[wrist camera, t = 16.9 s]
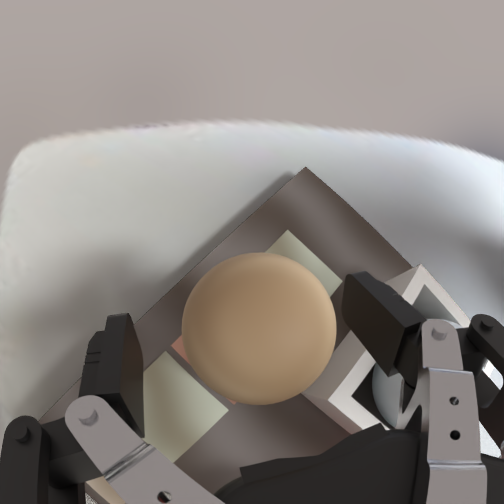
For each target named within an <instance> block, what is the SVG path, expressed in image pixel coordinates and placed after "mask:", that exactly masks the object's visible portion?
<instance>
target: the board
mask: <svg viewBox="0 0 504 504" xmlns="http://www.w3.org/2000/svg"><path fill="white" fill-rule="evenodd" d="M260 252H262V253H272V254H277V255H281V256H284V257H287V258H290V259H292V260H294V261H296V262H298V263H299V264H301V265H302V266H304V267H305V268H307V269H308V270H309V271H310V272H311V273H313V274H314V276H315V277H316V278H317V279H318V280H319V281H320V282H321V284H322V285H323V286H324V288H325V290H326V291H327V293H328V295H329V297H330V300H331V302H332V304H333V308H334V312H335V317H336V341H335V345H334V350H333V352H334V351H335V350H336V349H337V347H338V346H339V345H340V343H341V342H342V341H343V340H344V338H345V337H346V336H347V334H348V333H349V332H350V330H351V329H350V328H349V327H348V326H347V324H346V323H345V322H344V320H343V317H342V313H341V305H342V297H343V290H344V282H345V277H346V275H347V274H351V273H356V272H360V271H367V272H368V273H369V274H370V275H372V276H373V277H374V278H375V279H376V280H379V281H381V282H383V283H384V282H386V281H388V280H390V279H392V278H394V277H396V276H398V275H400V274H402V273H404V272H406V271H408V270H410V269H412V268H413V267H412V266H411V265H410V264H409V263H408V262H407V261H406V260H405V259H404V258H403V257H402V256H401V255H400V254H399V253H398V252H397V251H396V250H395V249H394V248H393V247H392V246H391V245H390V244H389V243H388V242H387V241H386V240H385V239H384V238H383V237H382V236H381V235H380V234H379V233H378V232H377V231H376V230H375V229H374V228H373V227H372V226H371V225H370V224H369V223H368V222H367V221H366V220H365V219H364V218H363V217H361V216H360V215H359V214H358V213H357V212H356V211H355V210H354V209H353V208H352V207H351V206H350V205H349V204H347V203H346V202H345V201H344V200H343V199H342V198H341V197H340V196H339V195H338V194H336V193H335V192H334V191H333V190H332V189H331V188H330V187H329V186H327V185H326V184H325V183H324V182H323V181H322V180H321V179H319V178H318V177H317V176H316V175H315V174H314V173H312V172H311V171H310V170H309V169H308V168H307V167H305V168H303V169H302V170H301V171H300V172H299V173H298V174H297V175H295V176H294V177H293V178H292V179H291V180H290V181H289V182H288V183H286V184H285V185H284V186H283V187H282V188H281V189H280V190H279V191H277V192H276V193H275V194H274V195H273V196H272V197H271V198H270V199H268V200H267V201H266V202H265V203H264V204H263V205H262V206H261V207H260V208H258V209H257V210H256V211H255V212H254V213H253V214H252V215H251V216H250V217H249V218H247V219H246V220H245V221H244V222H243V223H242V224H241V225H240V226H239V227H238V228H236V229H235V230H234V231H233V232H232V233H231V234H230V235H229V236H228V237H227V238H226V239H224V240H223V241H222V242H221V243H220V244H219V245H218V246H217V247H216V248H215V249H214V250H213V251H211V252H210V253H209V254H208V255H207V256H206V257H205V258H204V259H203V260H202V261H201V262H200V263H199V264H197V265H196V266H195V267H194V268H193V269H192V270H191V271H190V272H189V273H188V274H187V275H186V276H185V277H184V278H183V279H181V280H180V281H179V282H178V283H177V284H176V285H175V286H174V287H173V288H172V289H171V290H170V291H169V292H168V293H167V294H166V295H165V296H164V297H162V298H161V299H160V300H159V301H158V302H157V303H156V304H155V305H154V306H153V307H152V308H151V309H150V310H149V311H148V312H147V313H146V314H145V315H144V316H143V317H142V318H141V319H140V320H139V321H138V322H136V323H135V324H134V328H135V331H136V334H137V337H138V340H139V343H140V346H141V350H142V355H143V396H144V429H145V438H141V439H142V440H143V441H144V442H145V443H146V444H151V445H153V446H154V447H155V448H156V449H158V450H159V451H160V452H161V453H162V454H163V455H164V456H165V457H167V458H168V459H169V460H170V461H171V462H172V463H173V464H175V465H176V466H177V467H178V468H179V469H181V470H182V471H183V472H184V473H185V474H187V475H188V476H189V477H190V478H192V479H193V480H194V481H195V482H197V483H198V484H199V485H201V486H202V487H203V488H204V489H206V490H207V491H208V492H210V493H211V494H212V495H213V494H214V493H215V492H216V491H217V490H219V489H220V488H221V487H223V486H224V485H225V484H227V483H229V482H230V481H232V480H234V479H236V478H238V477H240V476H241V474H240V469H239V467H244V466H248V465H253V464H257V463H261V462H265V461H269V460H273V459H277V458H293V457H306V456H316V455H320V454H322V453H323V452H325V451H327V450H328V449H330V448H331V447H333V446H334V445H336V444H337V443H339V442H340V441H342V440H343V439H345V438H346V437H348V436H349V435H351V434H350V433H349V432H348V431H346V430H345V429H344V428H342V427H341V426H340V425H339V424H337V423H336V422H335V421H334V420H333V419H331V418H330V417H329V416H328V415H326V414H325V413H324V412H323V411H322V410H320V409H319V408H318V407H317V406H316V405H314V404H313V403H312V402H311V401H310V400H308V399H307V398H306V397H305V396H304V395H302V394H301V393H300V394H298V395H296V396H294V397H292V398H290V399H287V400H285V401H282V402H278V403H274V404H267V405H250V404H243V403H239V402H236V401H233V400H230V399H228V398H226V397H223V396H222V395H220V394H218V393H217V392H215V391H213V390H212V389H211V388H210V387H209V386H207V385H206V384H205V383H204V382H203V381H202V380H201V379H200V378H199V376H198V375H197V374H196V372H195V371H194V369H193V368H192V366H191V364H190V362H189V360H188V358H187V355H186V352H185V350H184V345H183V340H182V318H183V313H184V308H185V305H186V302H187V300H188V297H189V295H190V294H191V292H192V290H193V288H194V287H195V285H196V284H197V283H198V281H199V280H200V279H201V278H202V277H203V276H204V275H205V274H206V273H207V272H208V271H209V270H211V269H212V268H213V267H214V266H216V265H218V264H219V263H221V262H223V261H225V260H227V259H229V258H231V257H235V256H238V255H242V254H247V253H260ZM332 354H333V353H332ZM375 364H376V363H375ZM375 364H374V365H373V367H372V368H371V370H370V371H369V372H368V374H367V375H366V377H365V378H364V379H363V381H362V382H361V383H360V385H359V386H358V387H357V389H356V390H355V391H354V393H353V394H352V395H351V397H352V398H353V399H354V400H356V401H357V402H358V403H359V404H360V405H361V406H363V407H364V408H365V409H366V410H367V411H368V412H370V413H371V414H372V415H373V416H374V417H375V418H377V419H378V420H379V421H380V422H381V423H383V424H384V425H385V426H386V427H387V428H389V429H390V430H393V429H395V427H393V426H392V425H390V424H389V423H388V422H387V421H386V420H385V419H384V418H383V416H382V415H381V414H380V412H379V410H378V408H377V406H376V403H375V400H374V397H373V391H372V377H373V371H374V367H375ZM81 378H82V377H81ZM81 378H80V379H79V380H78V381H77V382H76V383H75V384H74V385H73V386H72V387H71V388H70V389H69V390H68V391H67V392H66V393H65V394H64V395H63V396H62V397H61V398H60V399H59V400H58V401H57V402H56V403H55V404H54V405H53V406H52V407H51V408H50V409H49V411H48V412H47V413H46V414H45V415H44V416H43V417H42V418H41V419H40V420H39V421H38V422H39V423H40V424H45V423H48V422H51V421H54V420H58V419H60V418H62V417H64V416H65V413H66V410H67V408H68V407H69V405H70V404H71V403H72V402H73V401H75V400H76V399H78V395H79V389H80V384H81ZM85 492H86V493H87V494H88V495H89V496H90V497H91V498H92V499H94V500H95V501H96V502H97V503H98V504H126V502H125V501H124V500H123V499H122V498H121V497H120V496H119V495H118V494H117V493H116V491H115V490H114V489H113V488H112V487H111V486H110V485H109V483H108V482H107V481H106V480H105V478H104V476H102V477H99V478H96V479H93V480H89V481H86V482H85Z"/></svg>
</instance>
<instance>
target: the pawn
mask: <svg viewBox="0 0 504 504" xmlns="http://www.w3.org/2000/svg"><path fill="white" fill-rule="evenodd" d="M182 340H183V345H184V350H185V352H186V355H187V358H188V360H189V362H190V364H191V366H192V368H193V369H194V371H195V372H196V374H197V375H198V376H199V378H200V379H201V380H202V381H203V382H204V383H205V384H206V385H207V386H209V387H210V388H211V389H212V390H213V391H215V392H217V393H218V394H220V395H222V396H223V397H226V398H228V399H230V400H233V401H236V402H239V403H243V404H250V405H267V404H274V403H278V402H282V401H285V400H287V399H290V398H292V397H294V396H296V395H298V394H300V393H301V392H303V391H304V390H306V389H307V388H308V387H309V386H311V385H312V384H313V383H314V382H315V381H316V380H317V379H318V377H319V376H320V375H321V373H322V372H323V371H324V369H325V368H326V366H327V364H328V362H329V360H330V358H331V355H332V353H333V350H334V345H335V341H336V317H335V312H334V308H333V304H332V302H331V300H330V297H329V295H328V293H327V291H326V290H325V288H324V286H323V285H322V284H321V282H320V281H319V280H318V279H317V278H316V277H315V276H314V274H313V273H311V272H310V271H309V270H308V269H307V268H305V267H304V266H302V265H301V264H299V263H298V262H296V261H294V260H292V259H290V258H287V257H284V256H281V255H277V254H272V253H262V252H260V253H247V254H242V255H238V256H235V257H231V258H229V259H227V260H225V261H223V262H221V263H219V264H218V265H216V266H214V267H213V268H212V269H211V270H209V271H208V272H207V273H206V274H205V275H204V276H203V277H202V278H201V279H200V280H199V281H198V283H197V284H196V285H195V287H194V288H193V290H192V292H191V294H190V295H189V297H188V300H187V302H186V305H185V308H184V313H183V318H182Z"/></svg>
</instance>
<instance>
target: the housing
mask: <svg viewBox="0 0 504 504" xmlns="http://www.w3.org/2000/svg"><path fill="white" fill-rule="evenodd" d="M384 283H385V284H387V285H389V286H391V287H392V288H393V289H394V290H395V291H396V292H397V293H398V295H399V294H400V295H401V296H402V297H403V298H404V300H406V301H407V302H408V303H409V304H411V305H412V306H413V307H414V308H415V309H416V310H417V311H418V312H419V313H420V314H421V315H422V316H424V317H425V318H426V319H444V320H448V321H451V322H454V323H456V324H458V325H460V326H462V327H463V328H466V327H469V324H470V322H471V321H470V319H469V318H468V317H467V316H466V315H465V313H464V312H463V311H462V310H461V309H460V307H459V306H458V305H457V304H456V303H455V301H454V300H453V299H452V298H451V297H450V296H449V294H448V293H447V292H446V291H445V290H444V289H443V288H442V286H441V285H440V284H439V283H438V282H437V281H436V280H435V279H434V277H433V276H432V275H431V274H430V273H429V272H428V271H427V270H426V269H425V268H424V267H423V265H422V264H419V265H418V266H416V267H414V268H412V269H410V270H408V271H406V272H404V273H402V274H400V275H398V276H396V277H394V278H392V279H390V280H388V281H386V282H384ZM375 363H376V361H375V360H374V359H373V357H372V356H371V355H370V353H369V352H368V351H367V350H366V348H365V347H364V346H363V345H362V343H361V342H360V341H359V339H358V338H357V337H356V336H355V334H354V333H353V332H352V331H351V330H350V332H349V333H348V334H347V336H346V337H345V338H344V340H343V341H342V342H341V343H340V345H339V346H338V347H337V349H336V350H335V351H334V352H333V354H332V355H331V358H330V360H329V362H328V364H327V366H326V368H325V369H324V371H323V372H322V373H321V375H320V376H319V377H318V379H317V380H316V381H315V382H314V383H313V384H312V385H311V386H309V387H308V388H307V389H306V390H304V391H303V392H301V394H302V395H304V396H305V397H306V398H307V399H308V400H310V401H311V402H312V403H313V404H314V405H316V406H317V407H318V408H319V409H320V410H322V411H323V412H324V413H325V414H326V415H328V416H329V417H330V418H331V419H333V420H334V421H335V422H336V423H337V424H339V425H340V426H341V427H342V428H344V429H345V430H346V431H348V432H349V433H350V434H354V433H356V432H359V431H361V430H364V429H366V428H368V427H371V426H373V425H375V424H378V423H380V421H379V420H378V419H377V418H375V417H374V416H373V415H372V414H371V413H370V412H368V411H367V410H366V409H365V408H364V407H363V406H361V405H360V404H359V403H358V402H357V401H356V400H354V399H353V398H352V397H351V395H352V394H353V393H354V391H355V390H356V389H357V387H358V386H359V385H360V383H361V382H362V381H363V379H364V378H365V377H366V375H367V374H368V372H369V371H370V370H371V368H372V367H373V365H374V364H375ZM493 367H494V366H493V365H492V364H491V362H490V361H489V360H487V362H486V364H485V365H484V372H485V374H486V375H487V376H488V377H490V374H491V372H492V370H493ZM382 425H383V426H384V428H385V430H390V429H389V428H387V427H386V426H385V425H384V424H383V423H382Z"/></svg>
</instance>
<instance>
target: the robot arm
mask: <svg viewBox="0 0 504 504" xmlns="http://www.w3.org/2000/svg"><path fill="white" fill-rule="evenodd" d="M341 313H342V317H343V320H344V322H345V323H346V324H347V326H348V327H349V328H350V329H351V331H352V332H353V333H354V334H355V336H356V337H357V338H358V339H359V341H360V342H361V343H362V345H363V346H364V347H365V348H366V350H367V351H368V352H369V353H370V355H371V356H372V357H373V359H374V360H375V361H376V362H377V364H378V365H379V366H380V368H381V369H382V370H383V372H384V373H385V374H386V375H387V377H390V376H393V375H395V374H398V373H400V374H401V376H402V377H403V379H402V381H401V391H400V402H399V411H398V420H397V424H396V427H395V429H393V430H385V428H384V426H383V425H382V423H381V422H380V423H378V424H375V425H373V426H371V427H368V428H366V429H364V430H361V431H359V432H356V433H354V434H351V435H349V436H348V437H346V438H345V439H343V440H342V441H340V442H339V443H337V444H336V445H334V446H333V447H331V448H330V449H328V450H327V451H325V452H323V453H322V454H320V455H316V456H306V457H293V458H277V459H273V460H269V461H265V462H261V463H257V464H253V465H248V466H244V467H239V469H240V474H241V476H240V477H238V478H236V479H234V480H232V481H230V482H229V483H227V484H225V485H224V486H223V487H221V488H220V489H219V490H217V491H216V492H215V493H214V494H213V495H212V494H211V493H210V492H208V491H207V490H206V489H204V488H203V487H202V486H201V485H199V484H198V483H197V482H195V481H194V480H193V479H192V478H190V477H189V476H188V475H187V474H185V473H184V472H183V471H182V470H181V469H179V468H178V467H177V466H176V465H175V464H173V463H172V462H171V461H170V460H169V459H168V458H167V457H165V456H164V455H163V454H162V453H161V452H160V451H159V450H158V449H156V448H155V447H154V446H153V445H151V444H146V443H145V442H144V441H143V440H142V439H141V438H145V429H144V396H143V355H142V350H141V346H140V343H139V340H138V337H137V334H136V331H135V328H134V325H133V322H132V319H131V316H130V314H129V313H125V314H117V315H110V316H108V317H107V322H106V327H105V331H98V332H96V333H95V335H94V336H93V337H92V339H91V340H90V341H89V344H88V349H87V355H86V358H85V365H84V368H83V373H82V378H81V384H80V389H79V395H78V399H76V400H75V401H73V402H72V403H71V404H70V405H69V407H68V408H67V410H66V413H65V416H64V417H62V418H60V419H58V420H54V421H51V422H48V423H45V424H40V423H39V422H38V421H37V420H36V419H35V418H33V417H31V416H20V417H18V418H16V419H14V420H13V421H12V422H11V423H10V424H9V425H8V426H7V428H6V430H5V434H4V439H3V445H2V451H1V457H0V504H86V498H85V482H86V481H89V480H93V479H96V478H99V477H102V476H104V478H105V480H106V481H107V482H108V483H109V485H110V486H111V487H112V488H113V489H114V490H115V491H116V493H117V494H118V495H119V496H120V497H121V498H122V499H123V500H124V501H125V502H126V504H504V327H503V326H502V325H501V324H500V323H499V322H498V321H497V320H496V319H494V318H493V317H491V316H488V315H485V314H477V315H475V316H473V318H472V319H471V322H470V324H469V327H466V328H457V329H455V328H454V326H452V325H451V324H450V323H448V322H446V321H444V320H440V319H430V320H427V319H426V318H425V317H424V316H422V315H421V314H420V313H419V312H418V311H417V310H416V309H415V308H414V307H413V306H412V305H411V304H409V303H408V302H407V301H406V300H404V298H403V297H402V296H401V295H400V294H399V295H398V293H397V292H396V291H395V290H394V289H393V288H392V287H391V286H389V285H387V284H385V283H383V282H381V281H379V280H376V279H375V278H374V277H373V276H372V275H370V274H369V273H368V272H367V271H360V272H356V273H351V274H347V275H346V277H345V282H344V290H343V297H342V305H341ZM487 360H489V361H490V362H491V364H492V365H493V366H494V367H495V368H496V369H497V370H498V371H499V372H500V373H501V375H502V377H503V386H502V388H501V390H499V389H498V387H497V386H496V385H495V384H494V383H493V382H492V380H491V379H490V378H489V377H488V376H487V375H486V374H485V372H484V371H483V370H482V369H483V367H484V365H485V364H486V362H487ZM479 421H480V422H481V424H482V425H483V427H484V428H485V429H486V431H487V432H488V433H489V435H490V436H491V438H492V439H493V440H494V442H495V443H496V445H497V446H498V447H499V449H500V450H501V456H500V457H499V458H497V457H493V456H490V455H486V454H483V453H480V431H479Z"/></svg>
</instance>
